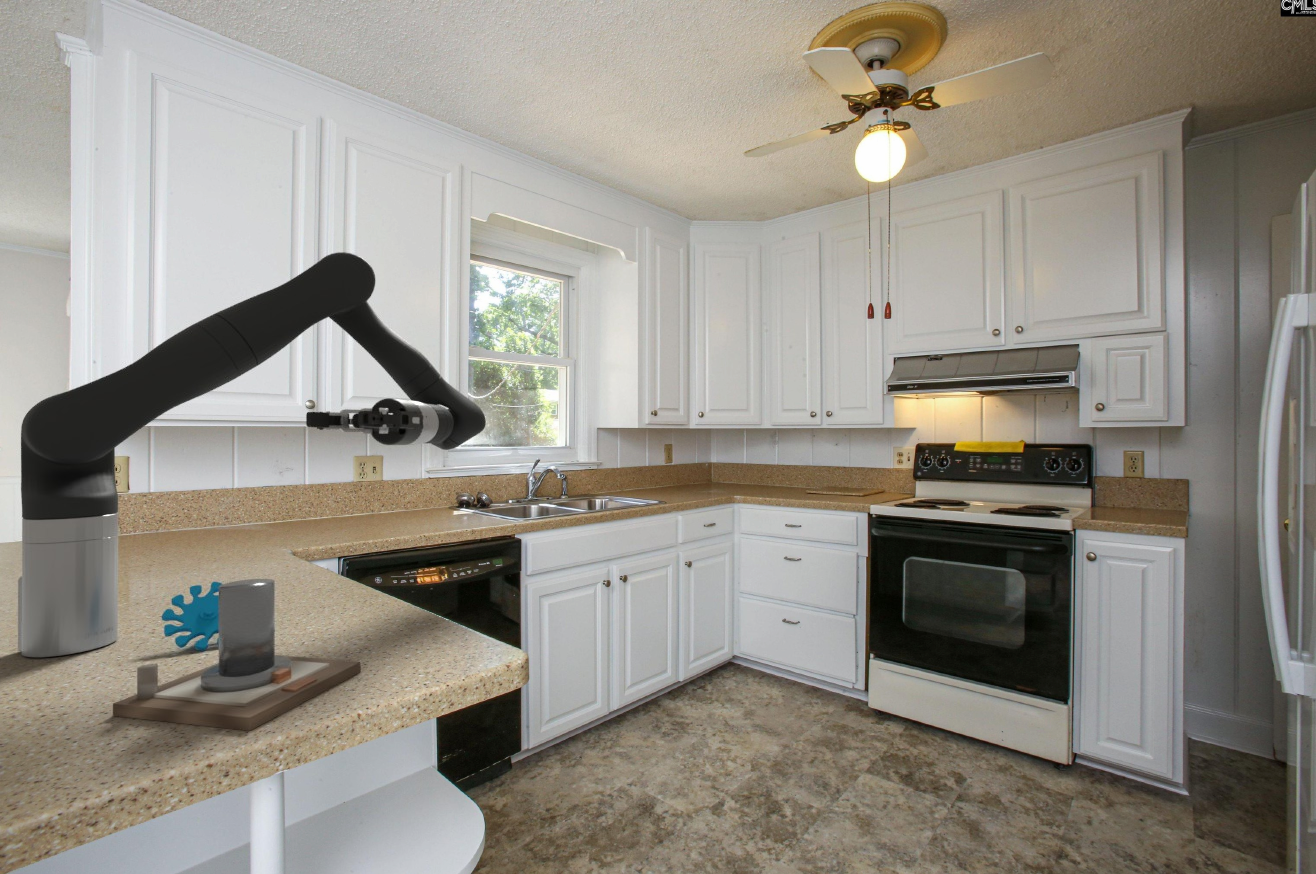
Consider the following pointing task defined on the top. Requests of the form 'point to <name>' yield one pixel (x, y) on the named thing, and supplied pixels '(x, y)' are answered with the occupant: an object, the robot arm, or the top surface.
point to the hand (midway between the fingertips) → (334, 418)
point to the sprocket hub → (246, 639)
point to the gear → (195, 617)
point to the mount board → (231, 695)
